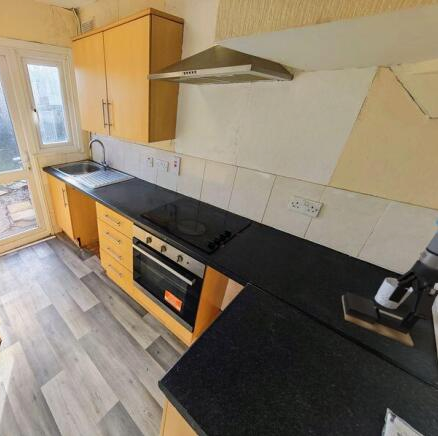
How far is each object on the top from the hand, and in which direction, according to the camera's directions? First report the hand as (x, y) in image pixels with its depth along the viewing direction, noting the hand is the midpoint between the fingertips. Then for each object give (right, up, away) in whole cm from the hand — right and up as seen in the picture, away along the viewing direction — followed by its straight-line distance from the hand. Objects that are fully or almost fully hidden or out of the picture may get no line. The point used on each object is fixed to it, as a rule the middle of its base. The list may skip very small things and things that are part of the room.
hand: (398, 313), depth 80 cm
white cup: (+9, -1, +13) cm, 15 cm away
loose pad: (-1, -4, +2) cm, 5 cm away
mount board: (-4, -4, +5) cm, 8 cm away
